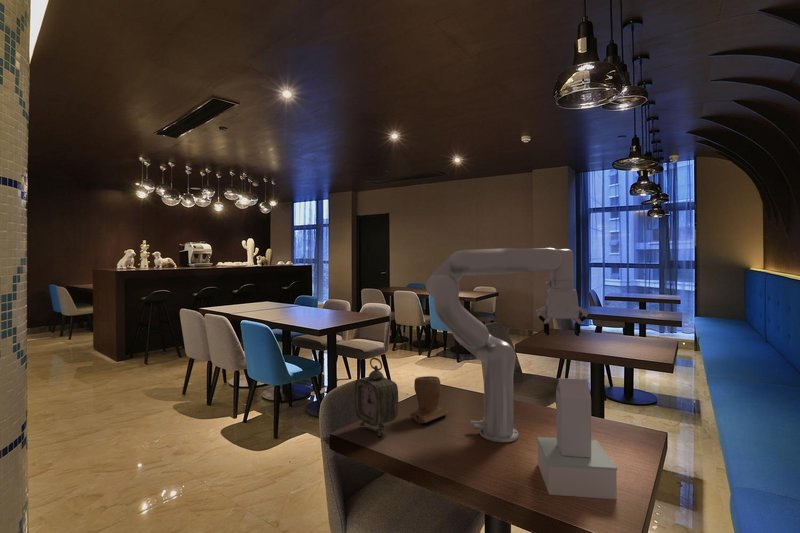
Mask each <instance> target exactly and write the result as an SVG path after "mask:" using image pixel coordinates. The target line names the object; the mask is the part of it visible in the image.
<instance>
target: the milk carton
mask: <svg viewBox="0 0 800 533" xmlns="http://www.w3.org/2000/svg"><path fill="white" fill-rule="evenodd" d="M588 383H589V382H588V379H587V378H564V377H563V378H560V377H558V382H557V386H556V389H555V391H556V392H555V393H556V394H555V395H556V398H555V399H556V402H555V403H556V406H555V407H556V409H555V410H556V412H555V413H556V416H555V417H556V418H555V419H556V438H557V445H558V447H559V450H560V452H561V454H562V456H575V457H590V458H591V440H592V396H591V392H590V388H589V385H588Z"/></svg>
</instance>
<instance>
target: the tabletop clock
mask: <svg viewBox="0 0 800 533" xmlns="http://www.w3.org/2000/svg"><path fill="white" fill-rule="evenodd" d="M373 360H375V361H378V363H379V364H380V367H379V368H378V365H374V366H373V364H372V361H373ZM369 365H370V367H371V369H373V370H372V371H371V372H370V373H369V375H368V377H363V378H358V379H356V380H355V384H354V406H355V407H354V409H355V413H356V416H357V418H359V420H361V421H362V422H360V423H359V426H360V427H361V426H364V427H365V424H367V425H369V426H373V427H377V426H378V428H379V429H378V432H377V437H379V436H381V437H382V436H383V432H382V429H381V428H383V429H384V428H385V425H384V424H387V423H390V422H393V421H395V420H396V418H397V417H398V415H399V388H398V385H397V383H396V382H395V381H393V380H391V379H388V378H387V377H384V373H382V372H381V370H382V369H383V363H382V361H381V359H380V358H378V357H371V358H370V360H369Z"/></svg>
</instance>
